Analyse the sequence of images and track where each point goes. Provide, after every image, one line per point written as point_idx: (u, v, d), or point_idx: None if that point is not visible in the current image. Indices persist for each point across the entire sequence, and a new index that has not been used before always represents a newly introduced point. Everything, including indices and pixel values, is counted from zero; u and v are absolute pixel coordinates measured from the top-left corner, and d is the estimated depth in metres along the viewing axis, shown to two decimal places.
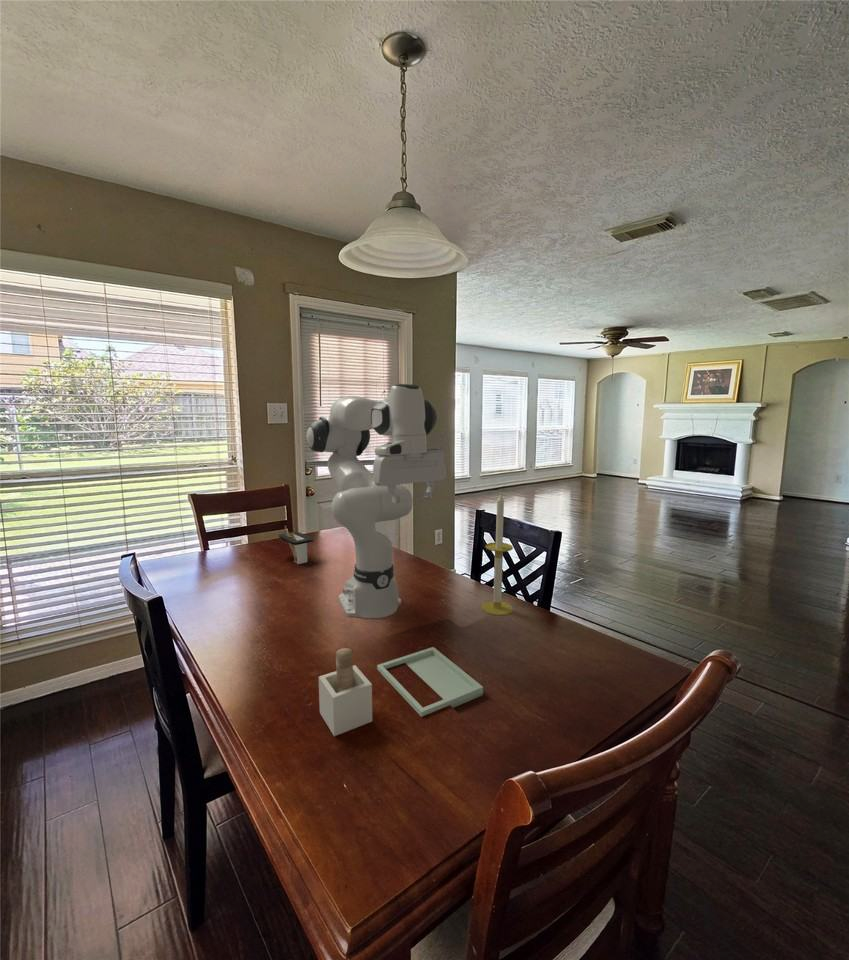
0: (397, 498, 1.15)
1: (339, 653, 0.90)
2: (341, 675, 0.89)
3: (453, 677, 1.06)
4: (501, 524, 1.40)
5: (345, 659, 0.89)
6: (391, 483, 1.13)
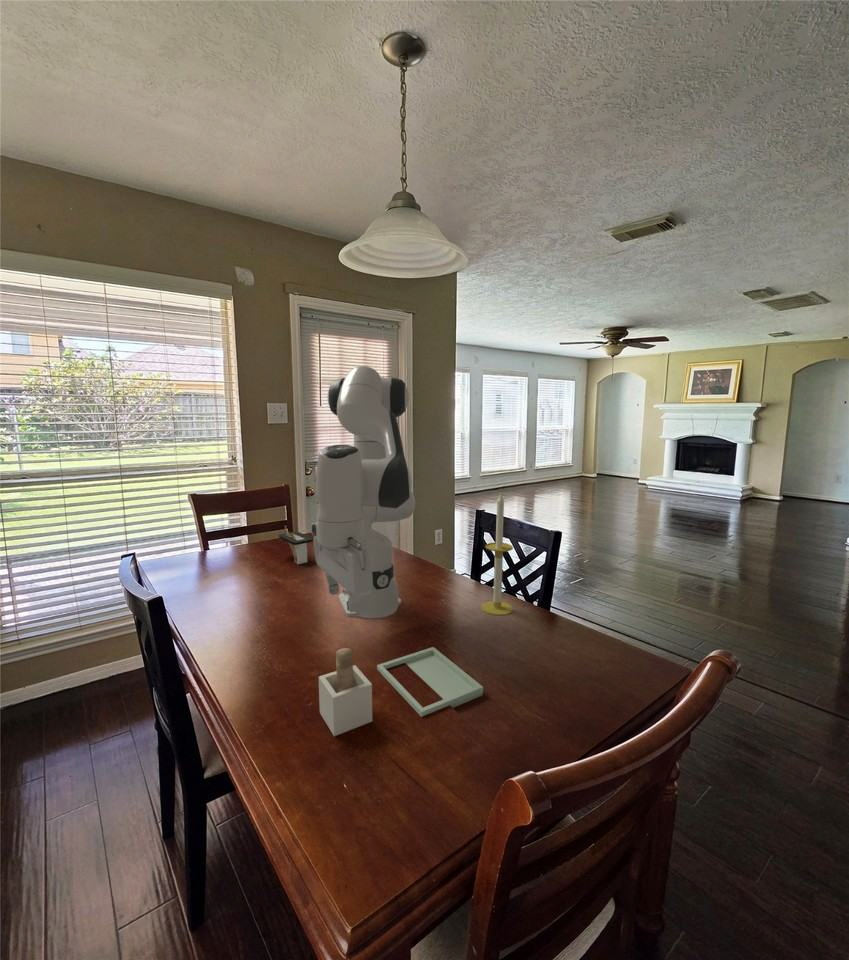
0: (329, 588, 0.92)
1: (339, 653, 0.90)
2: (341, 675, 0.89)
3: (453, 677, 1.06)
4: (501, 524, 1.40)
5: (345, 659, 0.89)
6: (321, 567, 0.93)
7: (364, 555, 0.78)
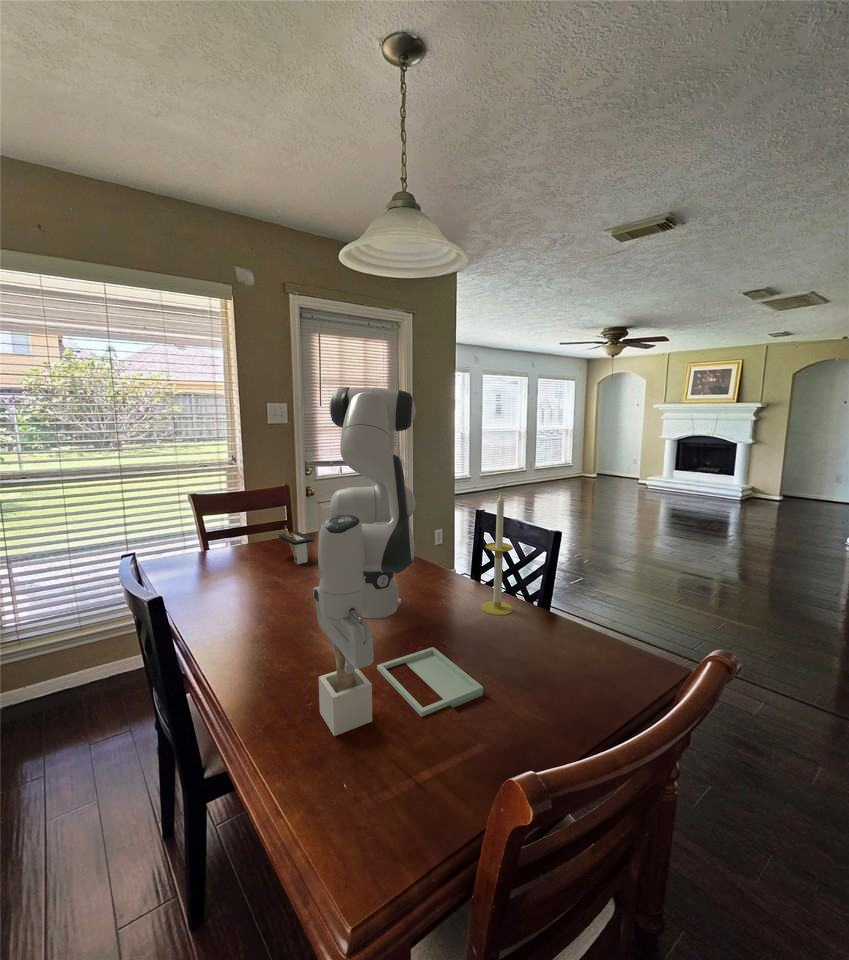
0: (335, 656, 0.92)
1: (339, 653, 0.90)
2: (341, 675, 0.89)
3: (453, 677, 1.06)
4: (501, 524, 1.40)
5: (345, 659, 0.89)
6: (323, 630, 0.95)
7: (365, 630, 0.80)
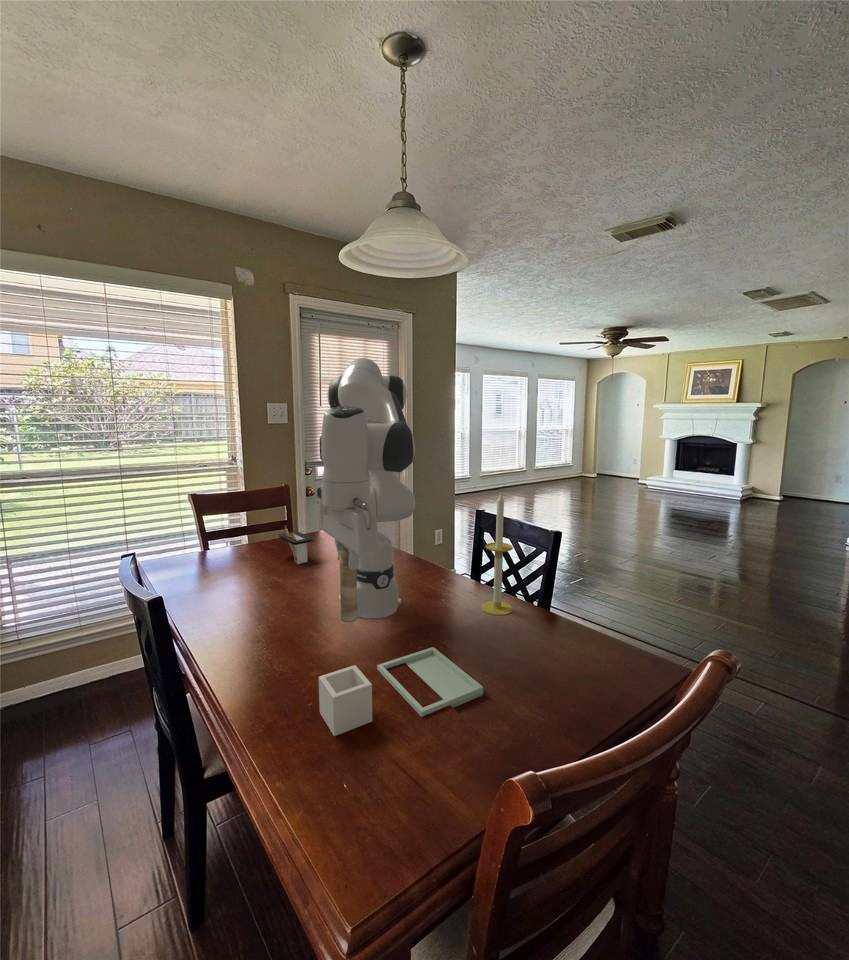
0: None
1: (342, 550, 0.87)
2: (345, 573, 0.87)
3: (453, 677, 1.06)
4: (501, 524, 1.40)
5: None
6: (326, 531, 0.92)
7: (370, 514, 0.78)
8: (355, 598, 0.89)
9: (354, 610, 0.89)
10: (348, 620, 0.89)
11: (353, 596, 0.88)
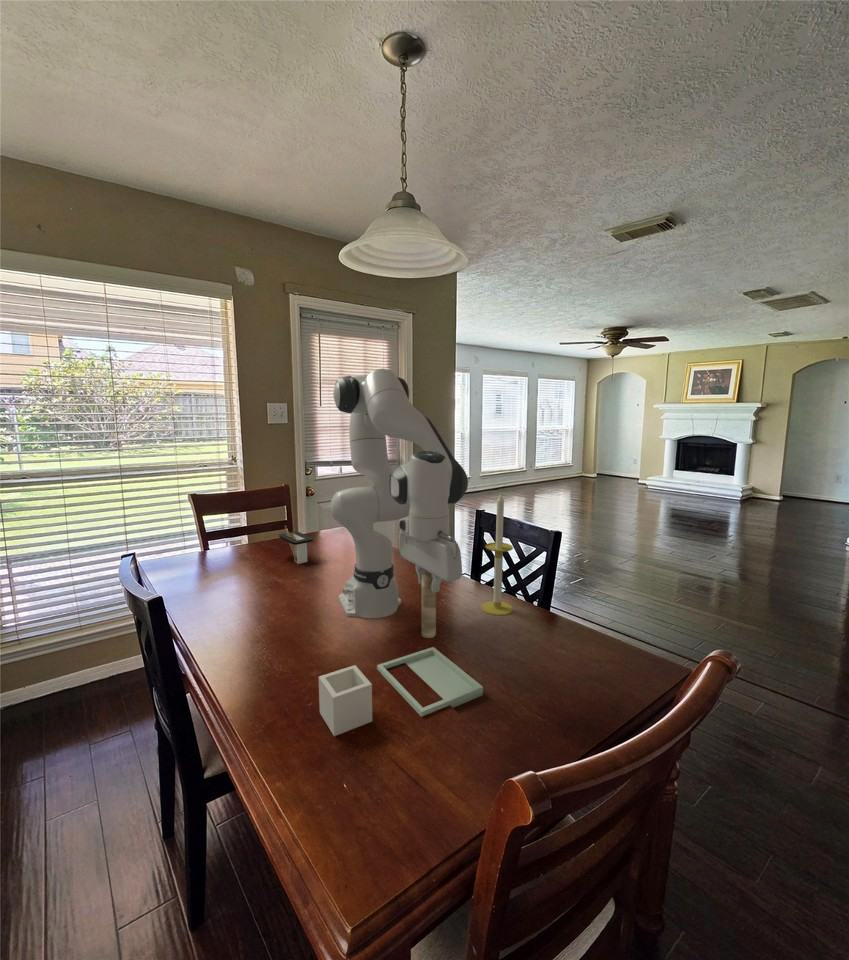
0: (419, 580, 1.03)
1: (425, 575, 1.01)
2: (427, 595, 1.00)
3: (453, 677, 1.06)
4: (501, 524, 1.40)
5: (431, 580, 1.00)
6: (406, 558, 1.06)
7: (456, 546, 0.91)
8: (435, 617, 1.02)
9: (434, 627, 1.02)
10: (429, 636, 1.02)
11: (434, 615, 1.01)
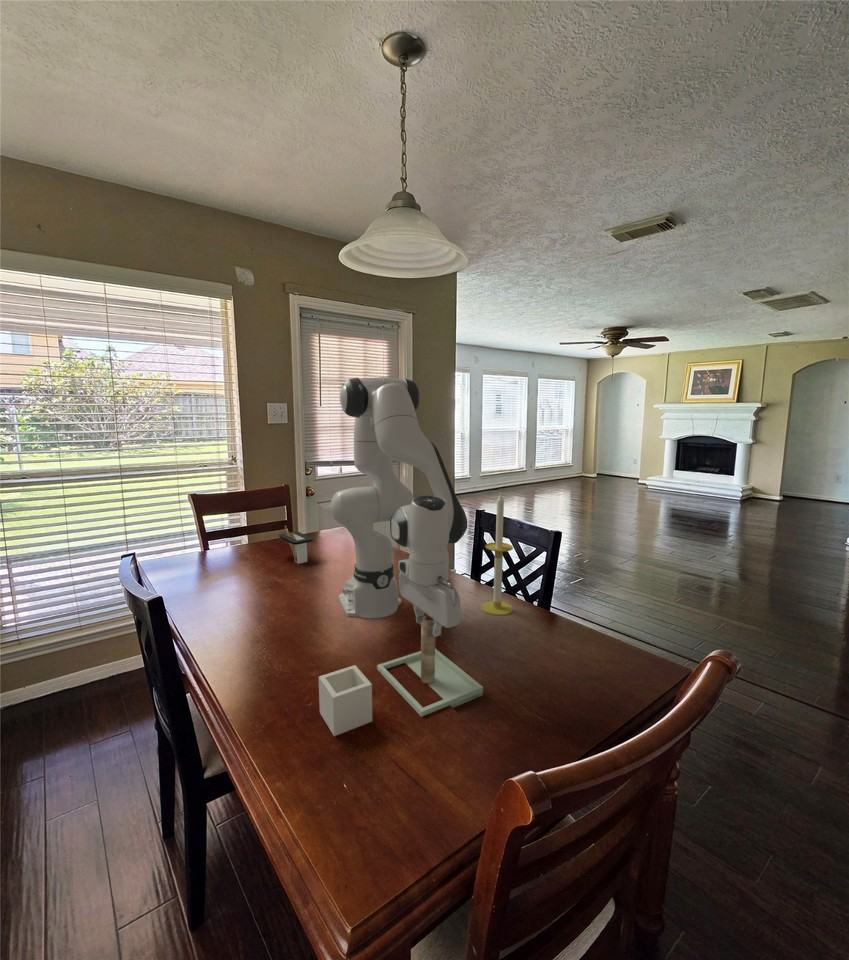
0: (417, 619, 1.05)
1: (424, 624, 1.03)
2: (426, 643, 1.02)
3: (453, 677, 1.06)
4: (501, 524, 1.40)
5: (430, 629, 1.02)
6: (406, 598, 1.07)
7: (456, 593, 0.93)
8: (434, 663, 1.04)
9: (433, 673, 1.04)
10: (428, 682, 1.04)
11: (433, 662, 1.03)
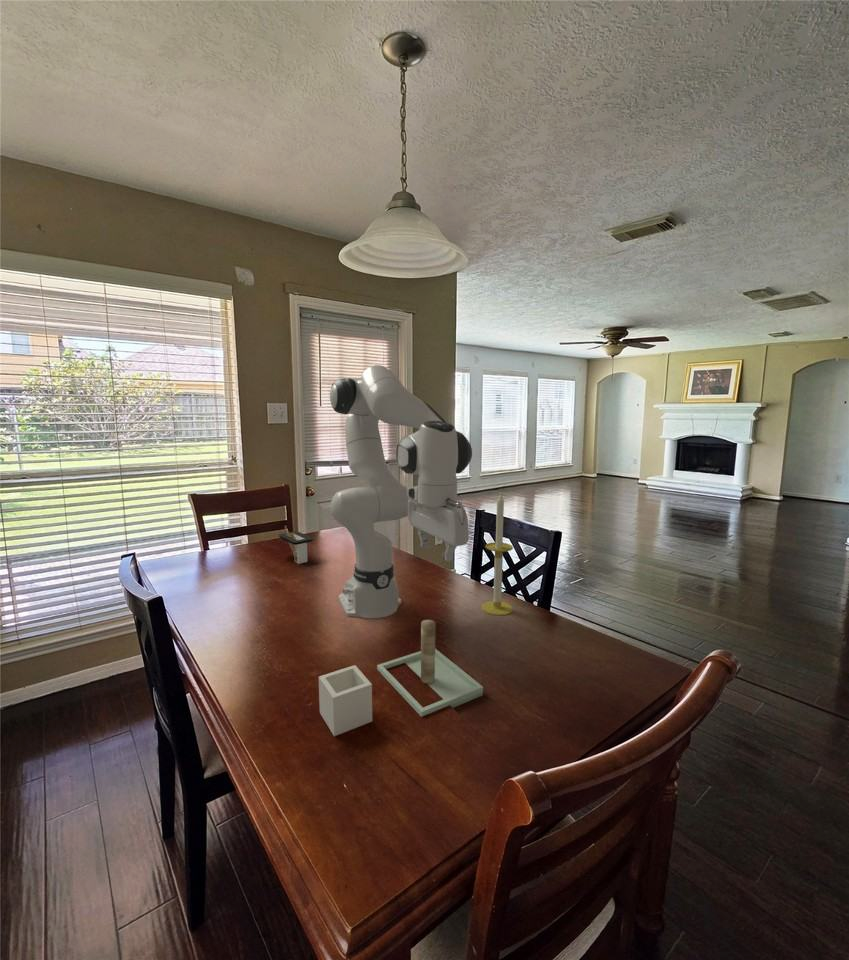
0: (422, 543, 1.09)
1: (424, 624, 1.03)
2: (426, 643, 1.02)
3: (453, 677, 1.06)
4: (501, 524, 1.40)
5: (430, 629, 1.02)
6: (414, 525, 1.09)
7: (464, 512, 0.94)
8: (434, 663, 1.04)
9: (433, 673, 1.04)
10: (428, 682, 1.04)
11: (433, 662, 1.04)
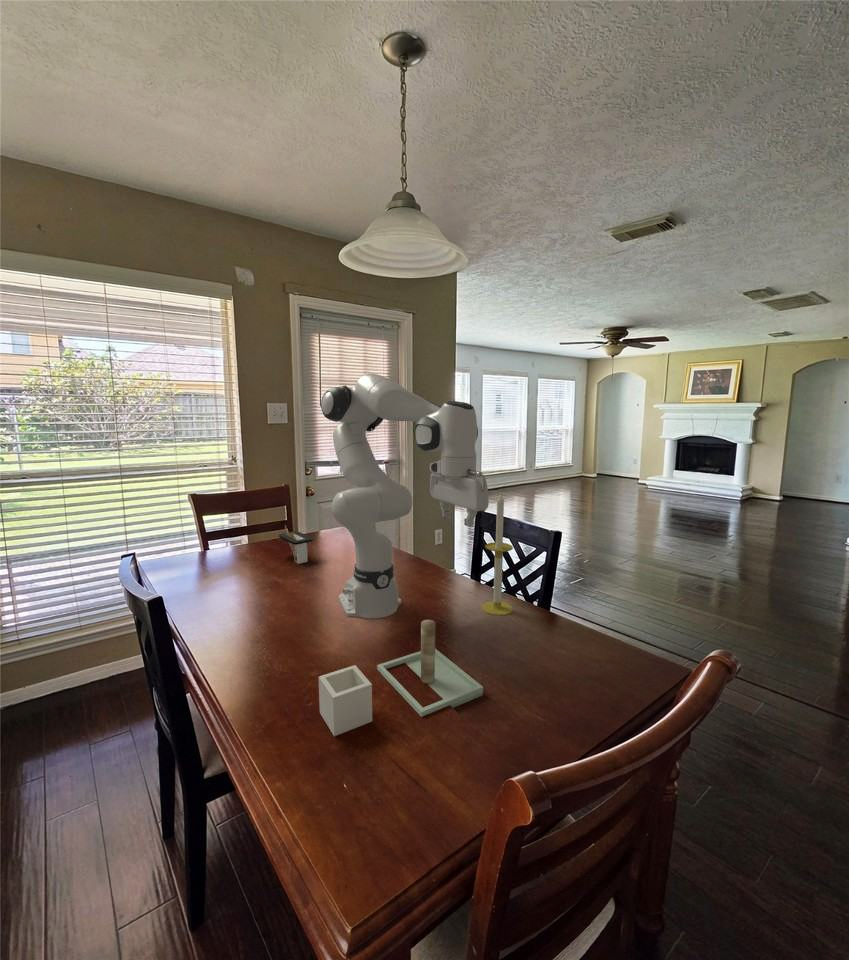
0: (443, 514, 1.20)
1: (424, 623, 1.03)
2: (426, 643, 1.02)
3: (453, 677, 1.06)
4: (501, 524, 1.40)
5: (430, 628, 1.02)
6: (437, 498, 1.20)
7: (484, 480, 1.06)
8: (434, 663, 1.04)
9: (433, 673, 1.04)
10: (428, 682, 1.04)
11: (433, 662, 1.04)
